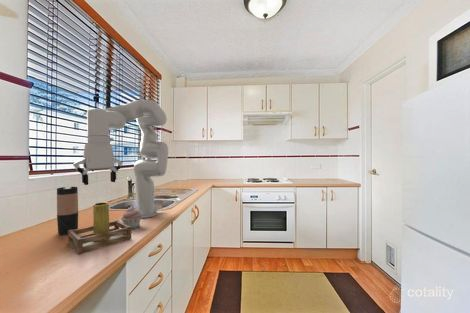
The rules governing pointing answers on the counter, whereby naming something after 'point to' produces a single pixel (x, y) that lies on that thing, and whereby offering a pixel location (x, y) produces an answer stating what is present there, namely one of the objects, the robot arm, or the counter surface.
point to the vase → (101, 219)
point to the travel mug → (67, 209)
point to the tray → (98, 237)
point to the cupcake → (131, 217)
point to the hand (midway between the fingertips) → (100, 183)
